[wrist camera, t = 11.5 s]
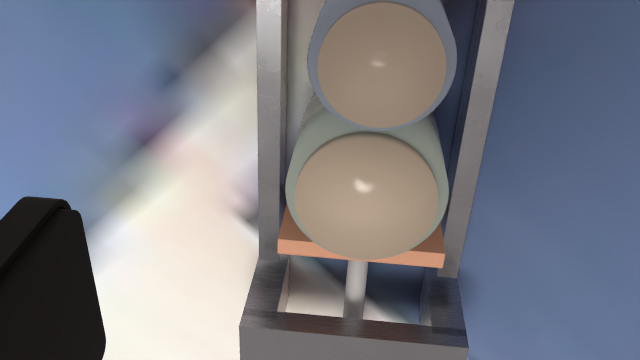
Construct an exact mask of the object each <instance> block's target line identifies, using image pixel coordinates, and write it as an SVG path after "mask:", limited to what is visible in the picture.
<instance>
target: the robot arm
mask: <svg viewBox="0 0 640 360" xmlns="http://www.w3.org/2000/svg"><path fill="white" fill-rule="evenodd" d="M105 346H106V337H105V331H104V326H103V321H102V316H101V311H100V306H99V301H98V296H97V291H96V286H95V281H94V276H93V272H92V267H91V262H90V257H89V252H88V247H87V242H86V237H85V232H84V227H83V222H82V218H81V215H80V213H79V212H78V211H76V210H71V207H70V205H69V204H68V202H67V201H65V200H63V199H52V198H41V197H29V196H28V197H23V198H22V199H21V200H19V201H18V202H17V203H16V204H15V205H14V206H13V207H12V209H11V210H10V211H9V212H8V213H7V214H6V215H5V216H4V217H3V218H2V219H1V220H0V360H102V358H103V355H104V352H105Z"/></svg>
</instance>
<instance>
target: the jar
mask: <svg viewBox="0 0 640 360" xmlns="http://www.w3.org/2000/svg"><path fill="white" fill-rule="evenodd" d="M307 64H308V73H309V78H310V81H311V84H312V87H313V89H314V91H315V93H316V95H317V97H318V98H319V100H320V101H321V102H322V104H323V105H324V106H325V107H326V108H327V109H328V110H329V111H330V112H331V113H332V114H333V115H335V116H336V117H337V118H339V119H340V120H342V121H344V122H346V123H348V124H350V125H352V126H355V127H358V128H362V129H365V130H373V131H388V130H395V129H400V128H403V127H406V126H409V125H412V124H414V123H416V122H418V121H420V120H421V119H423V118H424V117H426V116H427V115H429V114H430V113H431V112H432V111H433V110H434V109H435V108H436V107H437V106H438V105H439V104H440V103H441V102H442V100H443V99H444V98H445V96H446V95H447V93H448V91H449V89H450V87H451V85H452V82H453V79H454V76H455V72H456V66H457V49H456V44H455V39H454V36H453V33H452V30H451V27H450V25H449V22H448V19H447V16H446V13H445V10H444V8H443V5H442V2H441V0H324V1H323V4H322V7H321V10H320V13H319V16H318V19H317V22H316V25H315V28H314V31H313V34H312V37H311V40H310V44H309V48H308V57H307Z"/></svg>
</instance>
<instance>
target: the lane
mask: <svg viewBox="0 0 640 360" xmlns="http://www.w3.org/2000/svg"><path fill="white" fill-rule="evenodd" d="M514 1H515V0H478V5H477V10H476V16H475V22H474V27H473V33H472V39H471V44H470V50H469V56H468V61H467V67H466V72H465V78H464V84H463V89H462V95H461V101H460V106H459V112H458V118H457V123H456V129H455V135H454V140H453V146H452V152H451V157H450V163H449V168H448V174H447V179H448V187H449V196H448V203H447V207H446V211H445V213H444V215H443V218H442V220H441V221H440V222H441V228H442V235H443V242H444V248H445V258H444V264H443V268H435V267H425V272H424V278H423V284H422V290H421V296H420V301H419V307H418V309H419V322H420V325H415V324H405V323H394V322H383V321H373V320H362V319H352V318H341V317H331V316H320V315H309V314H299V313H288V312H285V311H286V306H287V301H288V296H289V254H278V236H279V232H280V228H281V224H282V220H283V216H284V212H285V154H286V89H287V25H288V0H256V15H257V103H258V192H259V258H258V262H257V265H256V269H255V272H254V276H253V279H252V283H251V286H250V290H249V293H248V297H247V300H246V304H245V307H244V311H243V314H242V318H241V321H240V325H239V336H240V360H466V358H467V354H468V350H469V346H468V340H467V334H466V328H465V323H464V317H463V311H462V305H461V299H460V293H459V287H458V281H457V275H458V270H459V265H460V261H461V256H462V251H463V246H464V241H465V236H466V232H467V227H468V222H469V217H470V212H471V208H472V203H473V198H474V193H475V188H476V184H477V179H478V174H479V169H480V164H481V160H482V155H483V150H484V145H485V140H486V135H487V131H488V126H489V121H490V116H491V111H492V107H493V102H494V97H495V92H496V87H497V83H498V78H499V73H500V68H501V63H502V58H503V54H504V49H505V44H506V39H507V34H508V30H509V25H510V20H511V15H512V10H513V6H514Z"/></svg>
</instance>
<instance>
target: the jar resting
mask: <svg viewBox="0 0 640 360" xmlns="http://www.w3.org/2000/svg"><path fill="white" fill-rule="evenodd" d="M285 192H286V200H287V205H288V208H289V211H290V213H291V216H292V217H293V219H294V221H295V223H296V224H297V226H298V227H299V228H300V230H301V231H302V232H303V233H304V234H305V235H306V236H307V237H308V238H309V239H311V240H312V241H313V242H314V243H316V244H317V245H319V246H320V247H322V248H324V249H326V250H328V251H330V252H332V253H335V254H338V255H341V256H344V257H348V258H352V259H359V260H375V259H383V258H388V257H392V256H395V255H399V254H401V253H404V252H406V251H409V250H410V249H412V248H414V247H416V246H417V245H419V244H420V243H421V242H423V241H424V240H425V239H426V238H427V237H429V236H430V235H431V234H432V232H433V231H434V230H435V229H436V228H437V226H438V225H439V223H440V221H441V220H442V218H443V215H444V213H445V211H446V207H447V203H448V196H449V187H448V179H447V174H446V168H445V163H444V158H443V153H442V148H441V142H440V137H439V132H438V127H437V122H436V117H435V114H434V111H432V112H431V113H430V114H429V115H427V116H426V117H424V118H423V119H421V120H420V121H418V122H416V123H414V124H412V125H409V126H406V127H403V128H400V129H395V130H388V131H373V130H365V129H362V128H358V127H355V126H352V125H350V124H348V123H346V122H344V121H342V120H340V119H339V118H337V117H336V116H335V115H333V114H332V113H331V112H330V111H329V110H328V109H327V108H326V107H325V106H324V105H323V104H322V102H321V101H320V100H319V98H318V97H317V95H316V93H315V95H314V96H313V97H312V98H311V100H310V102H309V103H308V105H307V107H306V110H305V112H304V115H303V118H302V122H301V126H300V129H299V133H298V137H297V140H296V144H295V148H294V151H293V155H292V159H291V162H290V166H289V170H288V174H287V178H286V186H285Z"/></svg>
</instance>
